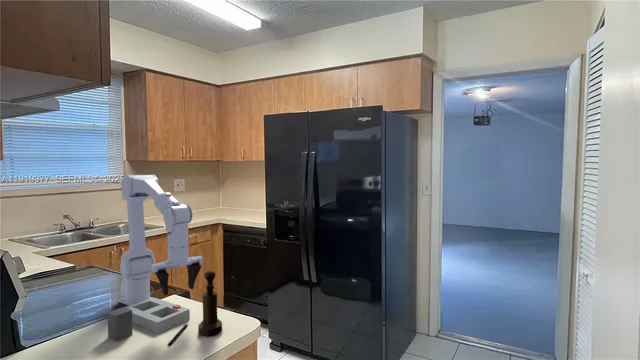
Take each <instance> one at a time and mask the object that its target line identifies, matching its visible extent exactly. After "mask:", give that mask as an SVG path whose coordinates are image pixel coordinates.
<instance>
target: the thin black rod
mask: <svg viewBox="0 0 640 360" xmlns="http://www.w3.org/2000/svg"><path fill="white" fill-rule="evenodd" d="M188 325H189V323H185V324H184V326H183V325H182V328H180V330H179V331H177V333H176V334H175V335H174V337H173V338H172V339H171V340H170V341H169V342H168V343H167V346H168V347H171V346H172V345H173V344H174V343H175V342H176V341H177V339H178V338H179V337H180V336H181V334H183V333H184V331H185V330H186V328H187V327H188Z"/></svg>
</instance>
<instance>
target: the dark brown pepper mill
mask: <svg viewBox="0 0 640 360" xmlns="http://www.w3.org/2000/svg"><path fill="white" fill-rule="evenodd" d="M216 275H217V274H216V271H215V270H214V269H213V268H209V269H206V270H205V271H204V279H205V280H206V282H207V284H205V289H206V291H205V292H203V293H202V320H201V322H199V324H198V329H197V332H198V333H197V334H198V335H199V336H200V337H202V338H203V337H204V338H212V337H215V336H218V335H221V333H222V331H223V323H222V322H223V321H221V320H220V319H219V318H218V292H217V291H214V288H215V284H214V282H213V281H214V279H215V278H216Z"/></svg>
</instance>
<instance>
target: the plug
mask: <svg viewBox="0 0 640 360" xmlns="http://www.w3.org/2000/svg"><path fill="white" fill-rule="evenodd" d="M125 307H126V306H123V307H120V308H117V309H114V310H112V311H108V312H107V338H108V339H110V340H112V339H113V341H115V342H118V341H121V340H123V339H125V337H126V338H128V337H130V336H132V335H133V323H132V310H131V309H128V308H125ZM131 334H132V335H131ZM129 335H130V336H129ZM127 336H128V337H127ZM122 338H123V339H122ZM120 339H121V340H120Z"/></svg>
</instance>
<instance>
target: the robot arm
mask: <svg viewBox="0 0 640 360" xmlns="http://www.w3.org/2000/svg"><path fill="white" fill-rule="evenodd" d="M120 185H121V186H120V187H121V196H122V198H121V199H122V200H124V201H126V207H127V209H126V210H127V227H128V242H129V243H128V245H129V247H128V249H127V250H126V251H125V252H124V253H122V254H121V256H120V264H119V271H120V275H121V276H122V277H123V278H122V279H121V282H120V299H119V300H118V303H121V304H124V305H126V306H130V305H133V304H136V303H139V302H142V301H145V300H148V299H151V298H153V297H152V296H151V283H150V282H151V276H152V275H153V274H152V273H154V274H155V276H156V278H157V279H158V281H159V284H160V287H161V291H162V294H163V296H168V295H169V285H168V284H169V278H170V277H169V276H170V273H168V271H167V270H171V269H175V268H181V267H186V269H187V276H188V277H187V279H188V281H187V282H188V283H187V285H188V286H187V287H188V289H190V290H193V289H194V287H195V282H196V279H197V277H198V274H199V273H200V272H201V269H202V264H204V257H203V256H201V255H196V256H189V224H190V223H191V222H192V220H193V211H192V208H191V206H190V205H189V204H188V203H187V204H186V203H185V204H184V203H180V202H179V201H178V200H177V199H176V198H175V196H173V195H172V193H171V192H165V191H164V190H163V189H162V188H161V186H160V185H159V178H158V177H157V175H155V174H132V175H130V174H126V175H124V176H123V178H122V179H121V183H120ZM148 198H151V199H153V200H154V201H153V203H154V207H155V208H156V209H157V210H158V211H159V212H160V213H161V214H162V216H163V217H162V218H163V222H164V225H165V226H164V227H165V231H166V232H167V260H164V261H161V262H160V261H159V262H157V263H156V259H155V255H154V251H152V249H149V248H147V247H146V229H145V228H146V227H145V213H144V212H145V209H144V202H145V201H146V199H148Z"/></svg>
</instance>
